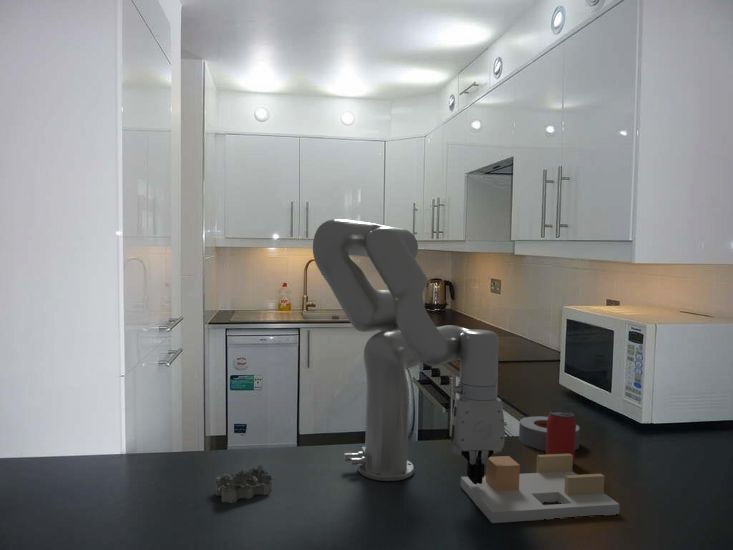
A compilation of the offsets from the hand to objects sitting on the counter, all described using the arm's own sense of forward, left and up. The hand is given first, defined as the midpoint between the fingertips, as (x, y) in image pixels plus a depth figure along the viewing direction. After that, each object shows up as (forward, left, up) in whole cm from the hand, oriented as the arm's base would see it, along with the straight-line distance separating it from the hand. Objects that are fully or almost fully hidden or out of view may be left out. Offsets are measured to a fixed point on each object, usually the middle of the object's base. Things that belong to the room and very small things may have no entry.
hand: (475, 481), depth 109 cm
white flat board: (+12, -3, -3) cm, 13 cm away
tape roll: (+33, +29, -4) cm, 44 cm away
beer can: (+28, +15, -3) cm, 32 cm away
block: (+6, 0, -1) cm, 6 cm away
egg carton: (-46, +8, -4) cm, 47 cm away
